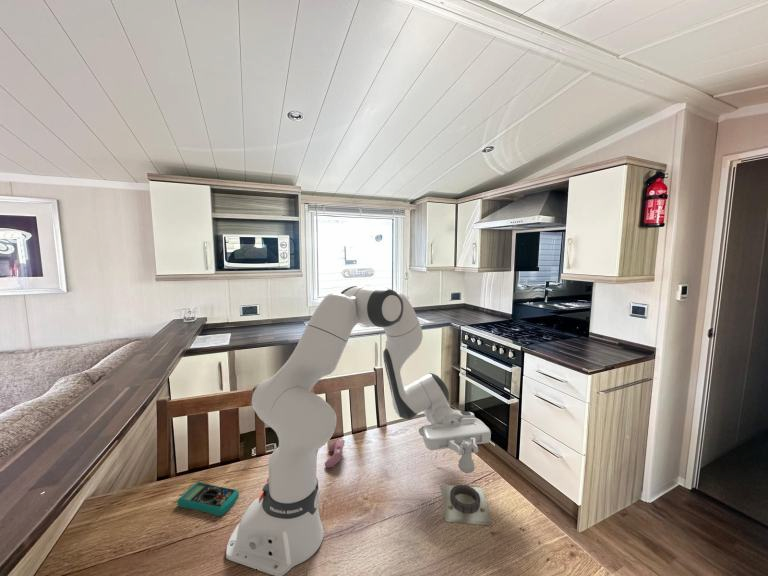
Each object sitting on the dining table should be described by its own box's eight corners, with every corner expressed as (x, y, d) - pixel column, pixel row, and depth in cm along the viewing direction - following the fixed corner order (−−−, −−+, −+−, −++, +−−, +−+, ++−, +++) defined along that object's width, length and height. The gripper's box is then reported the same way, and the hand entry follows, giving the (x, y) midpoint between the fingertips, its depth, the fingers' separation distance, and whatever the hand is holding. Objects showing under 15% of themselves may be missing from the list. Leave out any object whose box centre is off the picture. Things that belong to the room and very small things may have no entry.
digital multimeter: (222, 518, 83) (222, 508, 83) (176, 508, 86) (175, 498, 86) (241, 497, 90) (240, 488, 90) (197, 488, 93) (197, 479, 93)
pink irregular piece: (335, 473, 102) (345, 455, 102) (323, 467, 102) (332, 449, 101) (339, 453, 112) (348, 437, 111) (328, 448, 112) (336, 432, 111)
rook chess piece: (454, 468, 87) (456, 441, 86) (463, 460, 90) (464, 435, 89) (469, 476, 84) (471, 449, 83) (477, 468, 87) (478, 441, 86)
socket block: (445, 521, 83) (445, 511, 82) (441, 487, 95) (441, 478, 94) (491, 525, 82) (492, 515, 81) (481, 490, 94) (482, 481, 93)
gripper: (416, 418, 96) (433, 445, 83) (476, 411, 101) (502, 436, 87) (416, 437, 97) (432, 467, 83) (475, 429, 101) (500, 457, 88)
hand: (468, 451), depth 85 cm, fingers closed on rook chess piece, 3 cm apart
